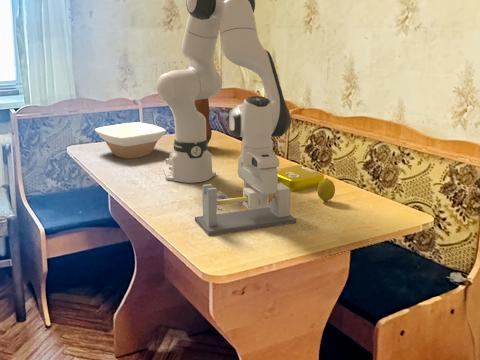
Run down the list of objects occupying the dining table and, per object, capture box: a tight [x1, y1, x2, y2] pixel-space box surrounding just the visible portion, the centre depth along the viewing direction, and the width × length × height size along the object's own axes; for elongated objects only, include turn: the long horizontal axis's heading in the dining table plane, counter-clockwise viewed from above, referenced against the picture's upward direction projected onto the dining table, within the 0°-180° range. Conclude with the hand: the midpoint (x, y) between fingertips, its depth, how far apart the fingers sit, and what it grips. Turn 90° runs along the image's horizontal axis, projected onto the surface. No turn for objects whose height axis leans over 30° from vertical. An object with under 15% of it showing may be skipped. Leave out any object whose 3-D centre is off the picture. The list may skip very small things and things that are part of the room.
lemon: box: [316, 177, 336, 203], centre depth 188 cm, size 6×6×8 cm
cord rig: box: [194, 183, 297, 237], centre depth 169 cm, size 12×27×12 cm, turn 112°
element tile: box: [277, 164, 325, 192], centre depth 207 cm, size 15×15×5 cm
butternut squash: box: [195, 98, 213, 144], centre depth 250 cm, size 14×13×25 cm
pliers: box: [217, 190, 243, 211], centre depth 189 cm, size 10×2×15 cm
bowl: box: [94, 121, 167, 160], centre depth 243 cm, size 24×25×11 cm
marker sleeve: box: [242, 187, 270, 210], centre depth 170 cm, size 5×6×5 cm
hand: (255, 200), depth 171 cm, fingers open, 8 cm apart
